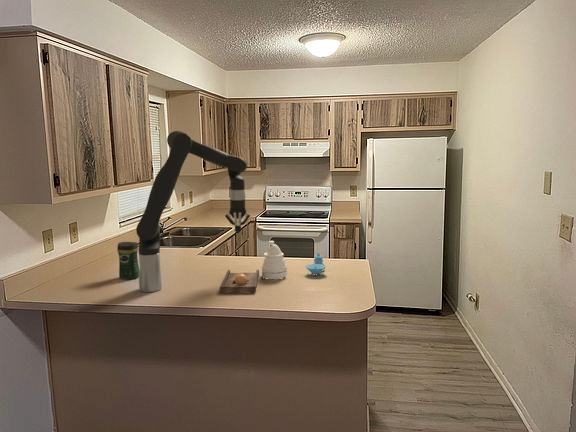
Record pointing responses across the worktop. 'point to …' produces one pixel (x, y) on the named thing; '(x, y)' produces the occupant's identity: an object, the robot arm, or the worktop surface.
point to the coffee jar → (128, 260)
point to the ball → (241, 279)
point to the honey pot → (274, 263)
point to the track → (230, 288)
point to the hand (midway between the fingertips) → (238, 232)
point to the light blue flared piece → (316, 265)
